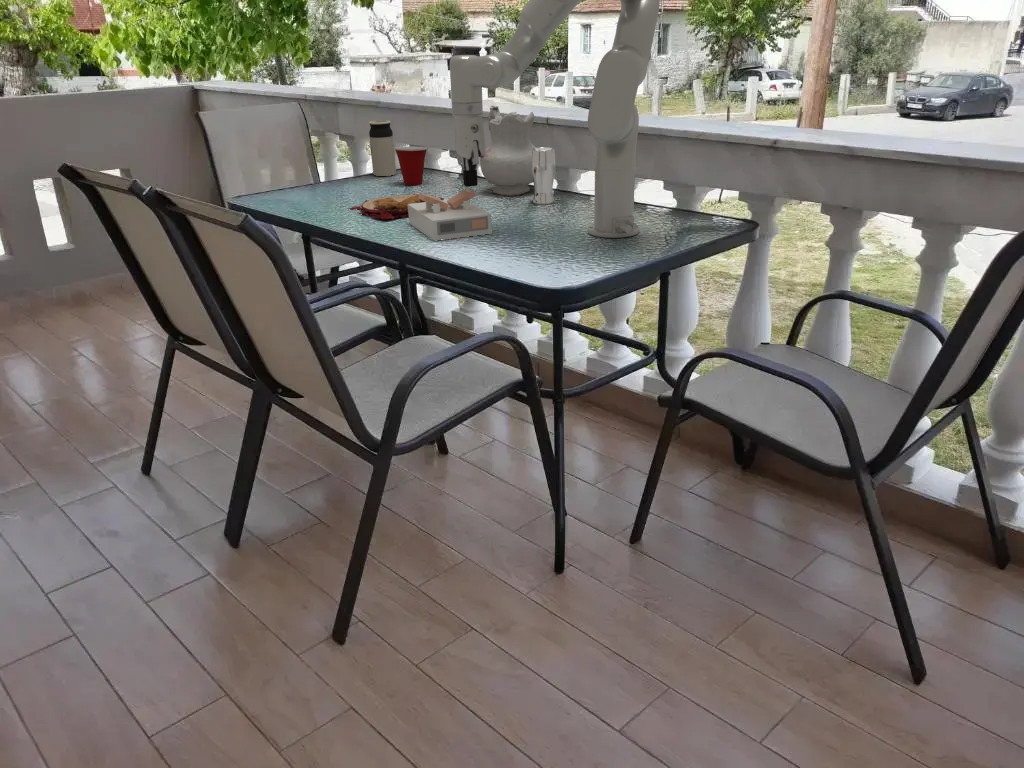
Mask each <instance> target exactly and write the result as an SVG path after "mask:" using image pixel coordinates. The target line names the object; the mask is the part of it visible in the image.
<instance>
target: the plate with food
mask: <svg viewBox="0 0 1024 768" xmlns="http://www.w3.org/2000/svg"><path fill="white" fill-rule="evenodd" d="M419 194H420V193H413V194H400V195H397V194H396V195H394V194H393V195H392V196H380V197H377V198H372V199H368V200H367V199H365V201H364V202H362V204H360V205H357V206H351V207H349V208H348V210H349V209H350V210H349V211H354V210H355V211H356V209H357V210H359V211H360V212H359V211H356V212H357V214H358V215H360V214H361V213H362V215H365V216H364V217H370V218H373V219H376V220H377V219H378V220H379V219H381V220H390V219H392V220H394V219H395V218H396V219H397V218H403V219H404V218H408V216H409V215H408V204H413V203H422V202H424V201H422V200H421V199H419V198H418V197H419ZM425 195H428V196H431V197H433V198H436V199H439V200H445V198H444V197H440V196H439V195H438V196H437V195H433V194H425ZM362 210H363V212H362ZM377 213H379V214H377ZM362 215H361V216H362ZM369 215H370V216H369Z"/></svg>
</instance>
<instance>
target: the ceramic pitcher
mask: <svg viewBox="0 0 1024 768" xmlns="http://www.w3.org/2000/svg"><path fill="white" fill-rule="evenodd" d="M517 112H518V111H512V112H508V114H502V115H501V112H500V108H499V106H497V105H496V106H495V105H491V106H490V107H489V114H488V130H489V134H490V140H491V143H490V145H488V147H487V148H485V151H486V156H485V157H484V158H481V157H479V166H480V171H481V174H482V175H483V177H484V178H485V180H486V181H487V182H488V183H489V184H491V185H494V186H495V187H494V189H493V191H492V193H494V194H499V195H502V196H510V197H511V196H512V197H513V196H519V195H523V194H524V193H527V192H530V191H531V188H530V187H529V185H530V184H534V183H533V178H532V172H531V149H533V148H537V147H536V146H535V145H534V144H533V143H532V141H531V138H530V137H531V136H530V135H531V134H530V132H531V129H532V125H533V123H534V119H535V113H534V112H532V111H530V113H528V115H526V116H525V117H524V118H522V117H521V116H520V113H517Z"/></svg>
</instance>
